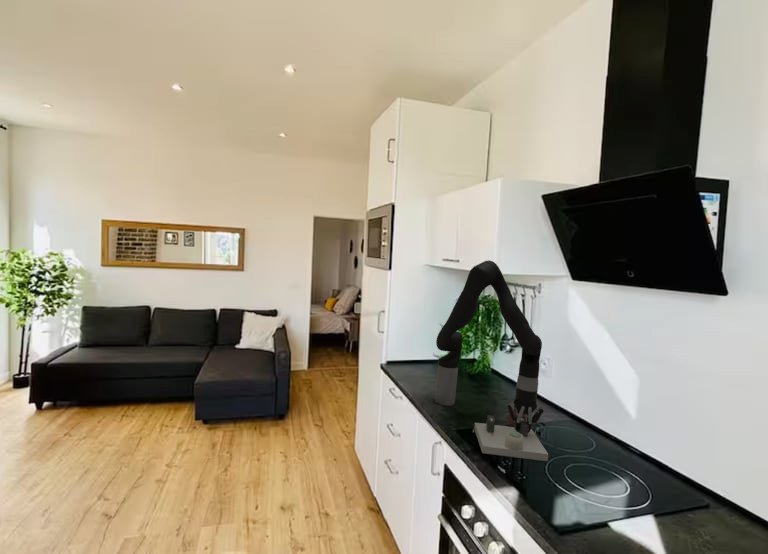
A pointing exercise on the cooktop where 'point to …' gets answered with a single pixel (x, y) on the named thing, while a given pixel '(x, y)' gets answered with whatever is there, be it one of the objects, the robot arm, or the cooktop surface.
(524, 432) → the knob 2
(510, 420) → the lighter
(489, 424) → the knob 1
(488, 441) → the base plate
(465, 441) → the cooktop surface
